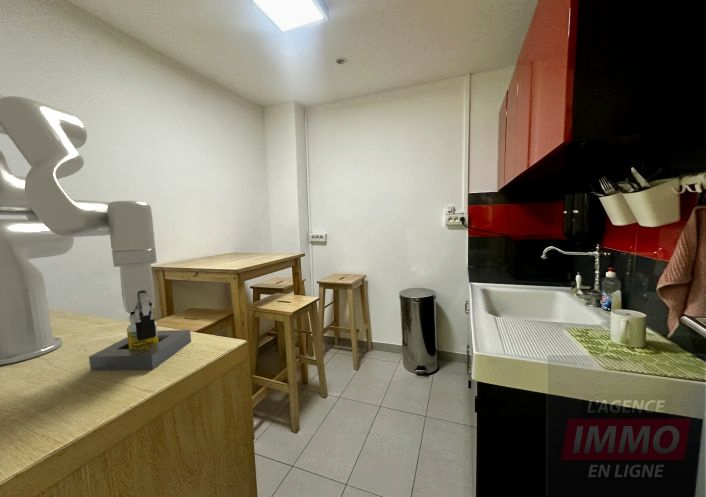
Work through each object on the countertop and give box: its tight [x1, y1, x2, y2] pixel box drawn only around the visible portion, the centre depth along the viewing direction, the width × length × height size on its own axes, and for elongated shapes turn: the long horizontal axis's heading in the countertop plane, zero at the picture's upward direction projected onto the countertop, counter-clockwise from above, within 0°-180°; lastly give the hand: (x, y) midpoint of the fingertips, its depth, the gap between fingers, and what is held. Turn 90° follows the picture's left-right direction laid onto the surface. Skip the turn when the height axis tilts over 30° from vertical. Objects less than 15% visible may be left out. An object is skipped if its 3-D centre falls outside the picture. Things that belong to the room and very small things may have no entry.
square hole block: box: [88, 329, 192, 372], centre depth 63 cm, size 13×13×3 cm
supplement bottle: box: [126, 312, 159, 349], centre depth 62 cm, size 5×5×10 cm
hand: (143, 332), depth 62 cm, fingers open, 9 cm apart
